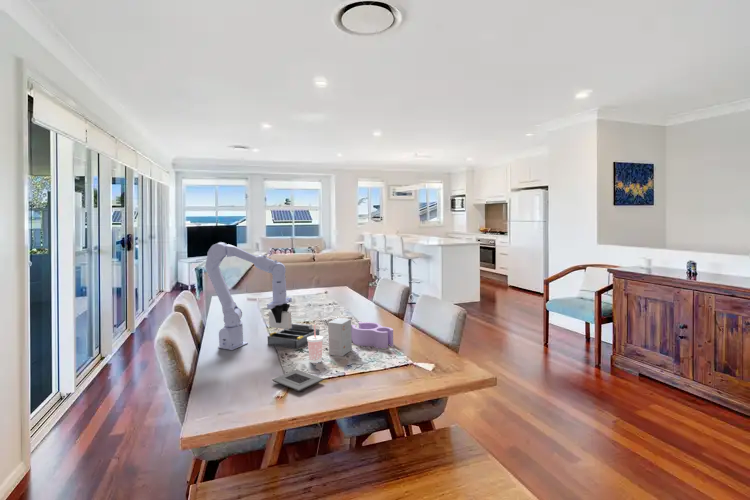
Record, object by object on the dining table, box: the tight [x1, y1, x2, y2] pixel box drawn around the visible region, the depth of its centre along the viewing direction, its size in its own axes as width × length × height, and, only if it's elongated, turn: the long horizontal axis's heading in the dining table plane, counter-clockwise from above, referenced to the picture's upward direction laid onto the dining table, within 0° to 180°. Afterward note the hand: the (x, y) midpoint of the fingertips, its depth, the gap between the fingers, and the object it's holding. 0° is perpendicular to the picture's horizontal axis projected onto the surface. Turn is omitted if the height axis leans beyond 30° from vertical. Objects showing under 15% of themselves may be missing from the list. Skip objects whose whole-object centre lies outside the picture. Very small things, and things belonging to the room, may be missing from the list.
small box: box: [327, 317, 353, 357], centre depth 163 cm, size 8×6×13 cm
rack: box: [267, 321, 320, 350], centre depth 179 cm, size 17×15×6 cm
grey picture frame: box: [271, 369, 324, 392], centre depth 134 cm, size 13×10×2 cm
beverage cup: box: [307, 324, 324, 364], centre depth 154 cm, size 6×6×14 cm
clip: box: [351, 321, 394, 349], centre depth 175 cm, size 20×12×7 cm, turn 51°
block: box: [268, 310, 293, 330], centre depth 177 cm, size 2×10×7 cm, turn 66°
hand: (280, 321), depth 177 cm, fingers closed on block, 2 cm apart
